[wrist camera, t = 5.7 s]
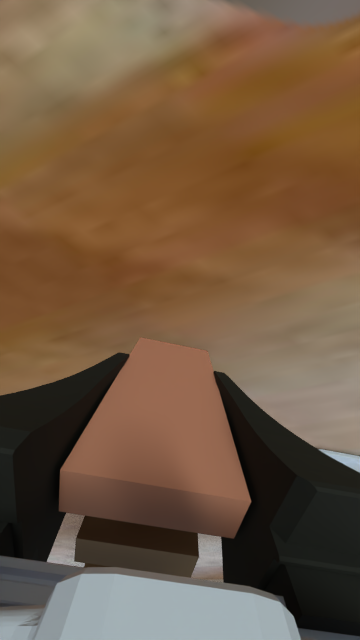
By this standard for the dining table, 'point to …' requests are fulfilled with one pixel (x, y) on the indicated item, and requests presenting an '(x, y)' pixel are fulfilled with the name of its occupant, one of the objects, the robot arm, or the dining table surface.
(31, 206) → the dining table surface
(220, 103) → the dining table surface
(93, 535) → the domino
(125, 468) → the reddish brown rectangular block
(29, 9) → the dining table surface
